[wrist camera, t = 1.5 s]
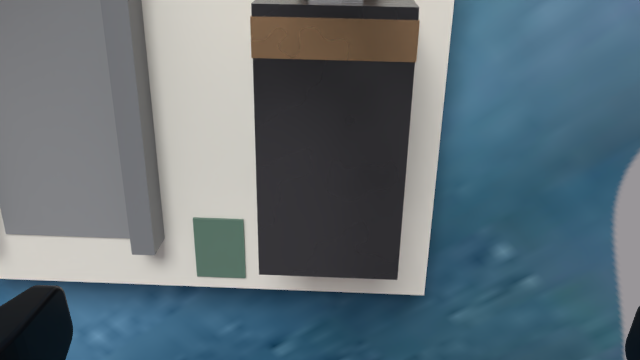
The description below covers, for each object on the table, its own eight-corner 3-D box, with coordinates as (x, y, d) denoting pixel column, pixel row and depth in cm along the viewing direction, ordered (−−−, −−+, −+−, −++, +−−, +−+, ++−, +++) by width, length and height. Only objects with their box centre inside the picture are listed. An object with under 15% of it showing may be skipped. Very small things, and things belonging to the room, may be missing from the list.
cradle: (416, 260, 24) (430, 329, 20) (-16, 244, 25) (-88, 307, 21) (453, -125, 19) (482, -138, 15) (-105, -133, 19) (-227, -148, 15)
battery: (389, 216, 21) (398, 280, 17) (273, 212, 21) (257, 275, 17) (406, -25, 18) (421, -11, 14) (270, -29, 18) (249, -14, 14)
